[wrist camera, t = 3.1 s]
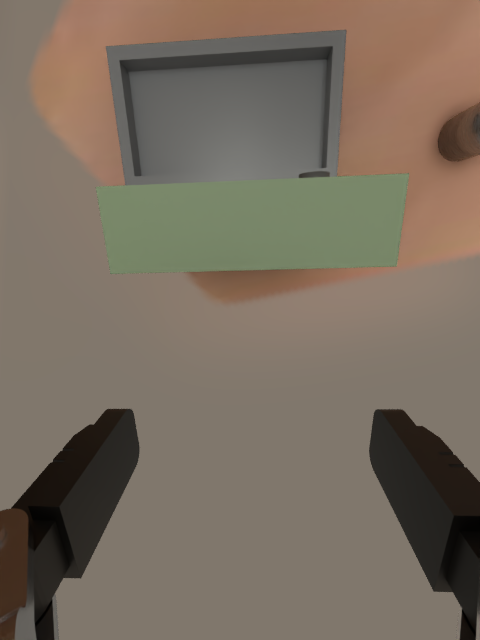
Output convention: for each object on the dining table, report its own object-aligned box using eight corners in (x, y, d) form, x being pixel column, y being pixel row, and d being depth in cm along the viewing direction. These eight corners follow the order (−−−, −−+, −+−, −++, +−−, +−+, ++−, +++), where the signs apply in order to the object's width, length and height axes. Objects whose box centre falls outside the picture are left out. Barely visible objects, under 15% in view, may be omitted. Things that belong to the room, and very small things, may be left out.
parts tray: (119, 62, 27) (105, 46, 24) (337, 48, 25) (346, 29, 23) (136, 191, 30) (125, 188, 28) (329, 183, 29) (336, 179, 26)
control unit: (184, 204, 30) (93, 172, 13) (319, 198, 29) (411, 157, 12) (188, 251, 32) (111, 279, 14) (316, 247, 31) (395, 272, 14)
